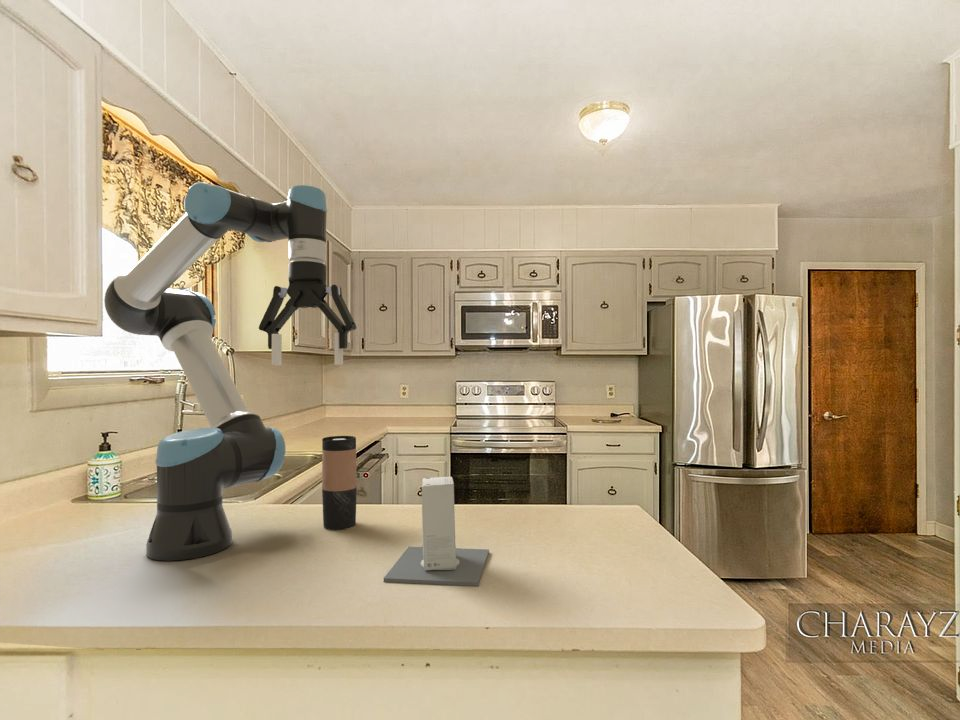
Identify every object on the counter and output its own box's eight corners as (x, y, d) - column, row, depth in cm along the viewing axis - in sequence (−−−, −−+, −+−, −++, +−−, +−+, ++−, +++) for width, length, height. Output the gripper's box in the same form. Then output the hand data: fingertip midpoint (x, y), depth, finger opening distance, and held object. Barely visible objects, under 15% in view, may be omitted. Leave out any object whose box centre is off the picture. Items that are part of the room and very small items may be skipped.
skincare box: (456, 570, 93) (456, 484, 93) (421, 571, 93) (421, 485, 93) (454, 553, 102) (454, 474, 102) (422, 554, 101) (421, 475, 101)
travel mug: (361, 521, 126) (360, 435, 126) (350, 531, 118) (349, 440, 119) (329, 520, 127) (329, 435, 127) (316, 530, 119) (316, 440, 119)
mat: (383, 581, 90) (383, 577, 90) (408, 549, 106) (408, 545, 106) (477, 586, 88) (477, 581, 88) (489, 552, 104) (489, 548, 104)
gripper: (241, 261, 110) (241, 365, 109) (358, 257, 106) (358, 364, 106) (260, 267, 117) (260, 365, 117) (371, 264, 114) (371, 364, 114)
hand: (307, 365), depth 111 cm, fingers open, 13 cm apart
